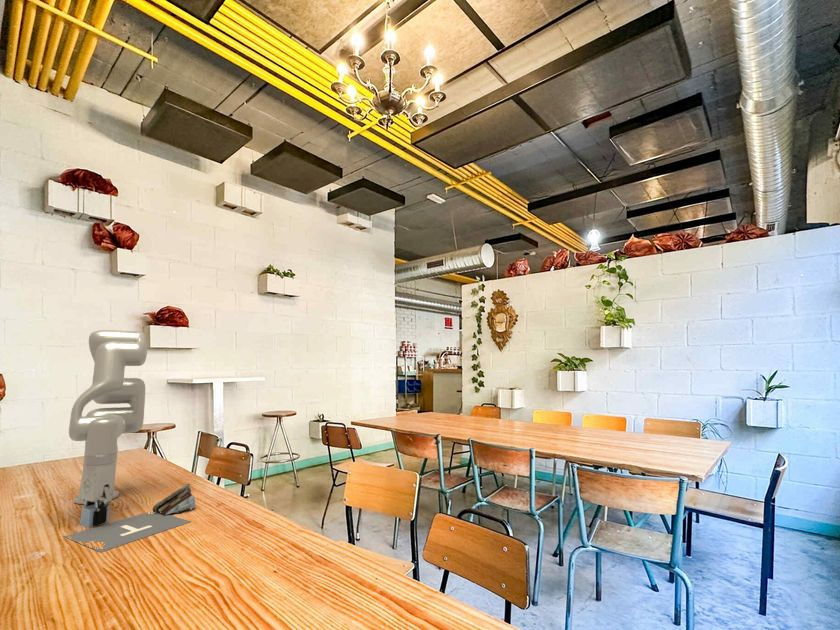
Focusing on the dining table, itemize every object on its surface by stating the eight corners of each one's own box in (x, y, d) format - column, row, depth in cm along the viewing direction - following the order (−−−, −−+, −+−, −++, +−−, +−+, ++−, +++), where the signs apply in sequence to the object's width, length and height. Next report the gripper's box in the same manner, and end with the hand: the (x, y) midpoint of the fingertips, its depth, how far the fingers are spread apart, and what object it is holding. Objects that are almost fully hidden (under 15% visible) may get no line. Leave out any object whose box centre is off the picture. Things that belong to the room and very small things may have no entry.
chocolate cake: (159, 520, 127) (193, 487, 134) (149, 509, 131) (182, 477, 138) (177, 533, 133) (208, 501, 140) (167, 522, 137) (198, 491, 144)
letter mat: (63, 536, 114) (63, 536, 114) (153, 510, 135) (153, 510, 135) (100, 552, 104) (100, 551, 104) (191, 521, 125) (191, 521, 125)
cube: (80, 525, 123) (81, 507, 123) (99, 519, 127) (101, 502, 128) (88, 528, 120) (90, 510, 121) (107, 522, 125) (109, 505, 125)
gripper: (72, 459, 127) (65, 521, 125) (100, 465, 119) (93, 532, 116) (100, 454, 133) (94, 513, 131) (128, 460, 125) (123, 523, 123)
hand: (94, 521), depth 124 cm, fingers open, 5 cm apart
